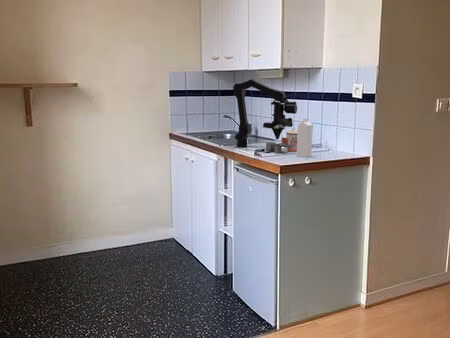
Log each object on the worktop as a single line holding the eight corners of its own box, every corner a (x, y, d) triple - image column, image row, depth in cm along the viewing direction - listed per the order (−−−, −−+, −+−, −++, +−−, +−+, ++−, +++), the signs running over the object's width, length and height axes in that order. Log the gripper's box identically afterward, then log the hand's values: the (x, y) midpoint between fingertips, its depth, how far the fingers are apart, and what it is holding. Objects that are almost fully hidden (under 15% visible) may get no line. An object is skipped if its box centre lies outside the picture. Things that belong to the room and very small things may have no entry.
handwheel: (301, 150, 272) (301, 139, 271) (290, 152, 267) (290, 140, 266) (287, 147, 282) (288, 136, 280) (276, 149, 276) (277, 138, 275)
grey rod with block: (265, 150, 273) (266, 142, 272) (271, 149, 275) (271, 141, 274) (283, 154, 261) (283, 146, 260) (288, 153, 263) (289, 145, 262)
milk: (310, 158, 259) (313, 118, 254) (305, 159, 254) (308, 119, 249) (301, 156, 262) (304, 117, 258) (295, 158, 258) (298, 118, 253)
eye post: (274, 153, 264) (274, 144, 263) (284, 152, 269) (285, 143, 267) (277, 154, 262) (277, 144, 261) (287, 152, 267) (288, 143, 266)
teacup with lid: (290, 147, 291) (291, 129, 288) (282, 145, 299) (283, 127, 296) (306, 146, 296) (307, 128, 293) (298, 144, 304) (299, 126, 301)
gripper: (275, 114, 258) (274, 142, 262) (300, 113, 269) (298, 140, 272) (262, 112, 267) (261, 139, 270) (286, 111, 278) (285, 137, 281)
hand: (277, 139), depth 273 cm, fingers closed
